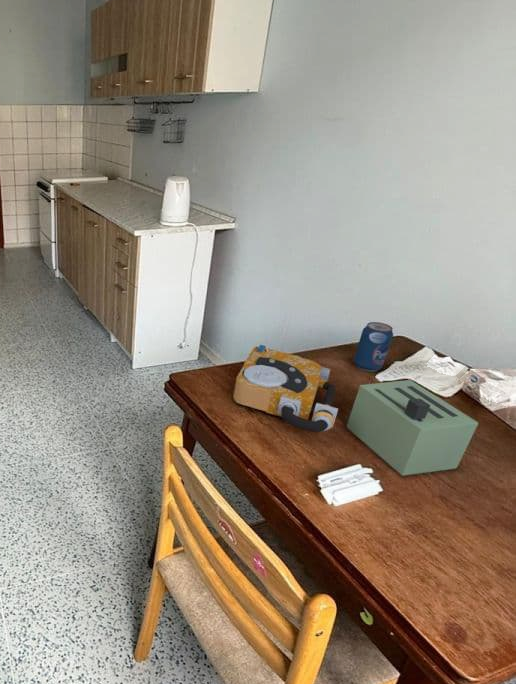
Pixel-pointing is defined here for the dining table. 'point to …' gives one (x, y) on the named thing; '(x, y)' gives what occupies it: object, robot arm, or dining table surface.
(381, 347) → the soda can
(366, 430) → the toaster
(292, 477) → the dining table surface
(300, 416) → the device
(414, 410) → the slider
